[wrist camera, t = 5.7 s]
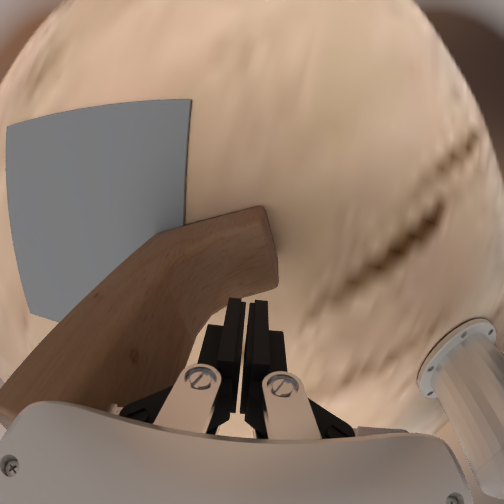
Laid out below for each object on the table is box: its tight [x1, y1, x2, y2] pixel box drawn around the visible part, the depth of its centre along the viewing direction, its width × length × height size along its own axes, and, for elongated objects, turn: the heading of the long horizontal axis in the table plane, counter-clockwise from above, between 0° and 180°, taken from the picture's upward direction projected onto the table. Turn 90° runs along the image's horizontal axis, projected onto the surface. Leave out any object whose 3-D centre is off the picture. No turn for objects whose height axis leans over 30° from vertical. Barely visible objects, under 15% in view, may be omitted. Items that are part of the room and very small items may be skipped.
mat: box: [6, 99, 192, 322], centre depth 22 cm, size 21×22×1 cm
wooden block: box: [0, 207, 279, 429], centre depth 13 cm, size 9×4×18 cm, turn 105°
